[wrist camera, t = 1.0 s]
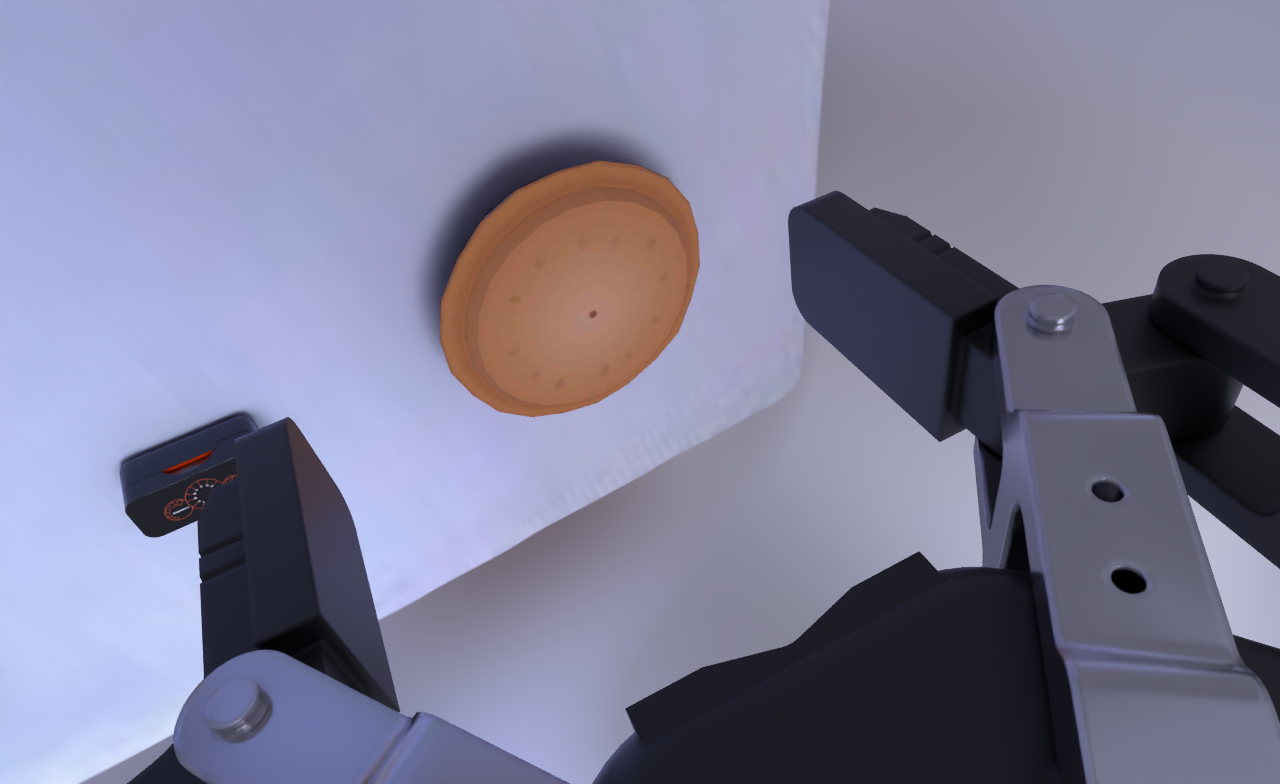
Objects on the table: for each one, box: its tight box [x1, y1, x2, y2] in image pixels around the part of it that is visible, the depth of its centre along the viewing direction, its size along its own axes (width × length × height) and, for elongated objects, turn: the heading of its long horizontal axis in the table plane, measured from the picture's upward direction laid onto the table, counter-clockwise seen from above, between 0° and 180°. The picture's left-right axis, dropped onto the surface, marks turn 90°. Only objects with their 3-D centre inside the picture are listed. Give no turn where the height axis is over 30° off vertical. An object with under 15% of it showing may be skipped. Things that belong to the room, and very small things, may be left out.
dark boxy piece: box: [120, 416, 258, 537], centre depth 41 cm, size 5×7×3 cm, turn 96°
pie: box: [440, 161, 700, 417], centre depth 44 cm, size 15×16×5 cm
